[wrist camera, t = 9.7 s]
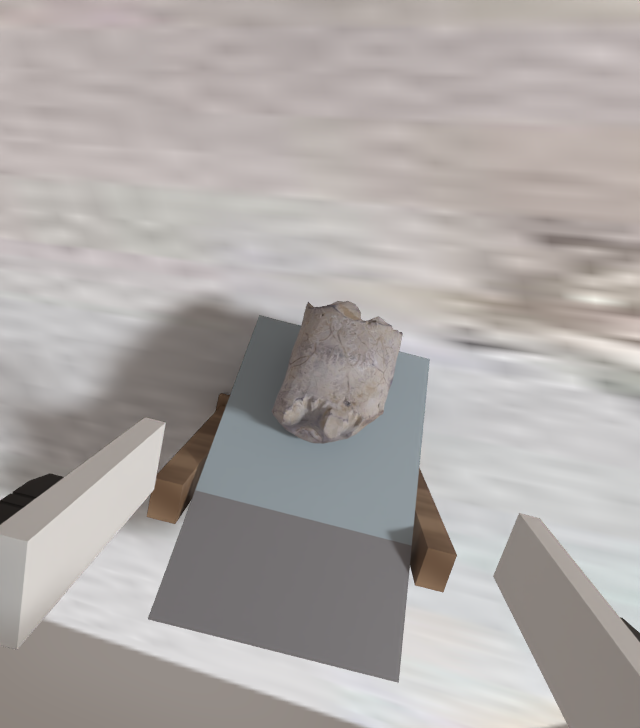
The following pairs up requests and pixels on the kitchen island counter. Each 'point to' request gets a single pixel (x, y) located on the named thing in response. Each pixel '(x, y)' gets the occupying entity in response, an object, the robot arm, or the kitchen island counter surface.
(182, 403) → the kitchen island counter surface
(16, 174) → the kitchen island counter surface
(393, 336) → the stone
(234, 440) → the trapdoor
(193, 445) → the frame
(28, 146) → the kitchen island counter surface
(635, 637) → the robot arm
